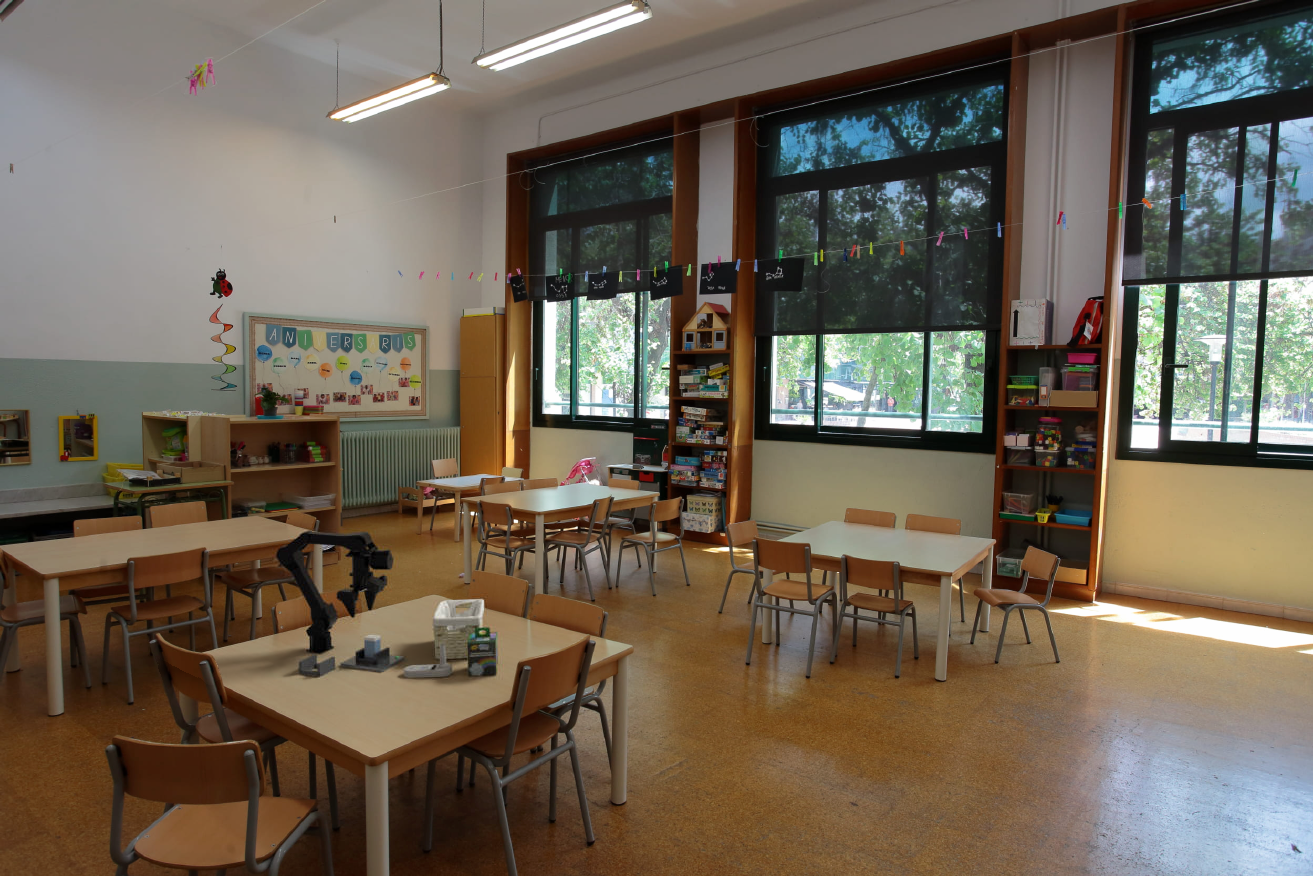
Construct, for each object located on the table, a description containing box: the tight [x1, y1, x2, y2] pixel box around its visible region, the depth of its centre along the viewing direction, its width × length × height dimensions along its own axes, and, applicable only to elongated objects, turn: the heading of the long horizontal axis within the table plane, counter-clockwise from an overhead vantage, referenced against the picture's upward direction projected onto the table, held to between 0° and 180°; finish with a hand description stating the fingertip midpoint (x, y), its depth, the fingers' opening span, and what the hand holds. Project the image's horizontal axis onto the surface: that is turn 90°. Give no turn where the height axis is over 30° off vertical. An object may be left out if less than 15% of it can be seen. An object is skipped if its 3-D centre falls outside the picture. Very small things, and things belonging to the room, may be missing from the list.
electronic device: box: [403, 644, 453, 679], centre depth 247 cm, size 5×10×15 cm
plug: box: [363, 633, 382, 659], centre depth 256 cm, size 4×3×8 cm
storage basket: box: [432, 598, 485, 660], centre depth 271 cm, size 24×16×15 cm
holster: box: [298, 653, 336, 678], centre depth 248 cm, size 8×7×4 cm
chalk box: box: [467, 626, 499, 677], centre depth 250 cm, size 9×9×15 cm
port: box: [339, 646, 405, 673], centre depth 256 cm, size 16×12×4 cm
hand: (361, 613), depth 267 cm, fingers open, 9 cm apart
